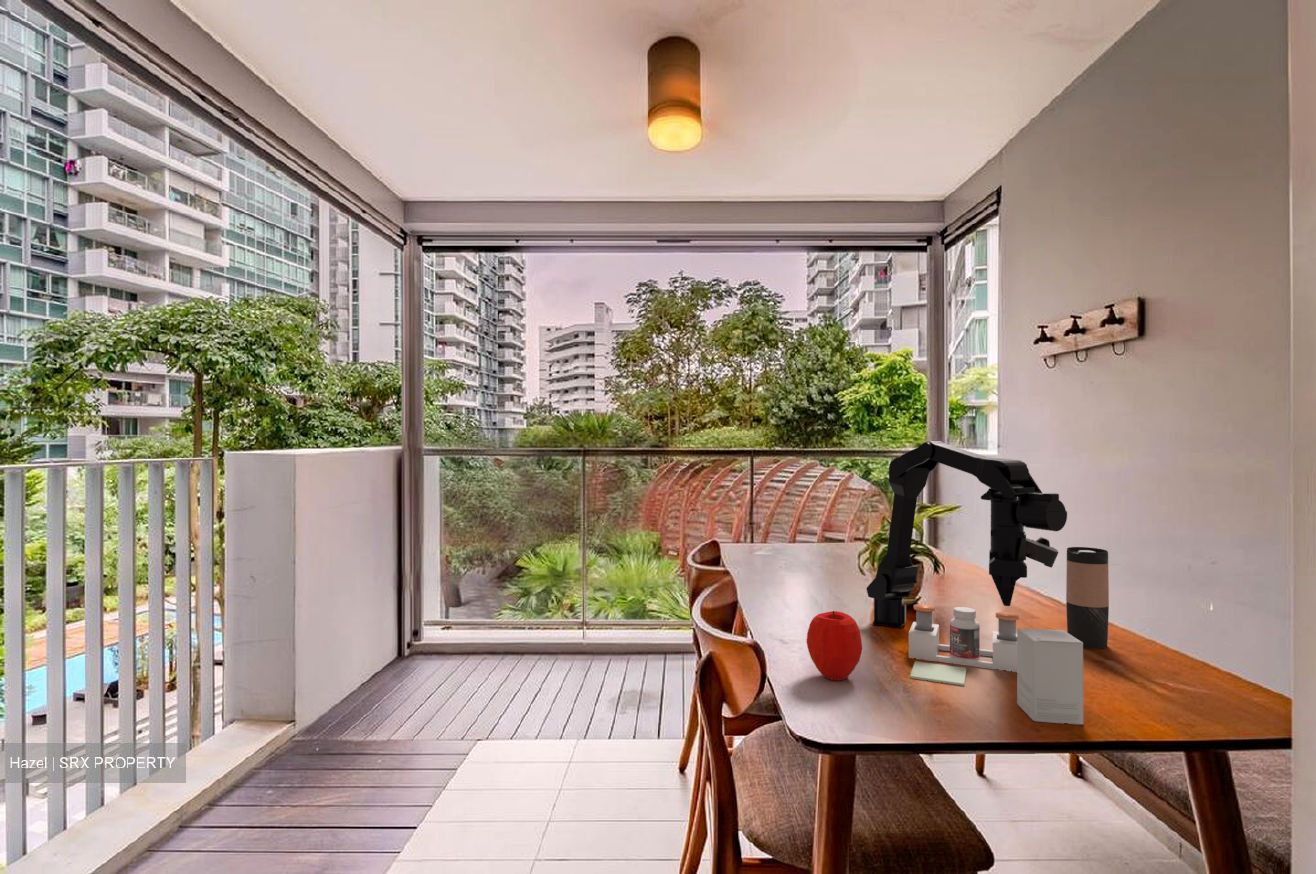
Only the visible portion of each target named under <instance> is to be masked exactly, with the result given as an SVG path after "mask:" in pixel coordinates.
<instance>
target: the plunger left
mask: <svg viewBox="0 0 1316 874" xmlns="http://www.w3.org/2000/svg"><path fill="white" fill-rule="evenodd" d="M935 608H936V607H935V606H934V605H932V604H926V603H916V604H913V610H915V611H916V613H915V614H916V615H915V617H916V618H915V619H916V620H915V622H916V630H921V631H929V632H932V624H933V612H935Z"/></svg>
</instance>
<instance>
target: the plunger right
mask: <svg viewBox="0 0 1316 874" xmlns="http://www.w3.org/2000/svg"><path fill="white" fill-rule="evenodd" d="M995 618H996V619H998V631H999V640H1007V641H1015V642H1016V633H1017V621H1018V620H1020V616H1019V614H1016V613H1012V612H1008V611H1007V612H1006V611H1005V612H1004V611H998V612H995Z"/></svg>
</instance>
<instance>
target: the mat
mask: <svg viewBox="0 0 1316 874" xmlns="http://www.w3.org/2000/svg"><path fill="white" fill-rule="evenodd" d="M911 669H912V670H911V673H910V675H909V678H910V679H914V680H921V681H927V680H928V681H927V682H933V683H934V682H935V683H941V682H943V684H947V683H948V684H949V685H954V684H955V685H956V686H962V687H965V682H966V676H967V675H966V674H967V668H966V667H959V666H952V665H944V664H937V663H930V662H922V661H914V663H913V666H912V668H911Z"/></svg>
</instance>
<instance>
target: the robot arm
mask: <svg viewBox="0 0 1316 874" xmlns="http://www.w3.org/2000/svg"><path fill="white" fill-rule="evenodd" d="M940 464H941V465H944V466H947V467H950V468H953V469H955V470H959V471H961V472H964V473H967V474H970V475H971V476H974V477H975V478H976V479H977V480H978V481H979V482H980V483H982V484H983V485H985V486H987V487H988V489H987V491H986V492H985V493H983V494H982V495H981V496H980V499H981V500H984V501H990V549H989V554H988V555H989V556H988V557H989V560H988V575H990V576H991V579H992V580H993V583H994V585H995V588H996V590H997V592H998V594H999V597H1000V599H1001V602H1002V604H1003V606H1005V607H1010V606H1011V603H1012V599H1013V595H1014V590H1015V586H1016V583H1017V581H1018V580H1019V579H1021V578H1022V579H1026V578H1028V566H1027V563H1025V561H1027V558H1028V559H1031V560H1033V561H1036V562H1038V563H1041V564H1043V565H1044V566H1045V567H1047V568H1053V566H1054V564H1055V561H1056V559H1057V557H1058V555H1059V551H1058V549H1056V548H1055V547H1052V546H1051V545H1050V540H1049V539H1047V538H1045V537H1042V536H1041V537H1038V538H1037V539H1036V540H1035V539H1030V538H1027V534H1026V531H1024V530H1025V529H1024V528H1028V529H1034V530H1035V529H1036V530H1041V531H1052V532H1059V531H1061V530H1063V528H1064V527H1065V525H1066V524H1067V520H1068V511H1067V510H1066V506H1065V505H1064V503H1063V502H1062V501H1061V500H1060V494H1059V493H1054V492H1052V493H1051V492H1049V493H1048V492H1047V493H1043V491H1042V490H1041V489H1040V487H1039V486H1038V484H1037V483H1036V481H1035V479H1034V478H1033V476H1032V475H1031V473H1030V471H1029V467H1028V465H1027V463H1025V462H1024V461H1022V460H1018V459H1012V458H1011V459H1010V458H998V457H989V456H988V457H987V456H985V455H982V454H977V453H974V452H973V451H968V450H965V449H963V448H958V447H956V446H953V445H950V444H947V443H946V442H943V441H938V440H936V441H933V440H930V441H925V442H923V443H922V444H920V445H919V446H917V447H916V448H913V449H912V450H911V449H910V450H909V451H907V452H905V453H903V454H902V455H900V456H896V457H895V458H893V460H891V461H890V463H889V465H888V483H889V485H890V488H891V490H892V492H893V503H892V510H891V511H892V512H891V519H890V525H889V534H888V543H887V551H886V554H885V556H884V557H883V559H882V560H881V561H880V563H879V564H878V566H877V570H876V573H875V578H874V579H873V580H872V581H871V582H870V583H869V584H868V585H867V587H866V589H865V590H866V593H867V597H868V598H871V599H873V621H872V625H874V626H875V625H876V626H882V627H884V626H885V627H889V628H890V627H891V628H892V627H893V628H900V629H902V628H903V626H904V624H905V623H906V622H907V604H906V603H904V598H910V597H911V593H912V590H913V589H914V587H915V584H918V582H917V576H918V571H919V568H918V566H917V565H914V564H913V562H912V560H911V558H910V556H911V547H912V542H913V541H912V539H913V532H914V526H915V525H914V524H915V517H916V509H917V502H918V501H917V500H918V497H919V495H920V494H921V492H922V491H923V490H924V488H925V487H926V485H927V482H928V479H929V476H930V475H929V474H930V473H932V472H933V471H934V470H936V469H937V468H938V466H939V465H940Z"/></svg>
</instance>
